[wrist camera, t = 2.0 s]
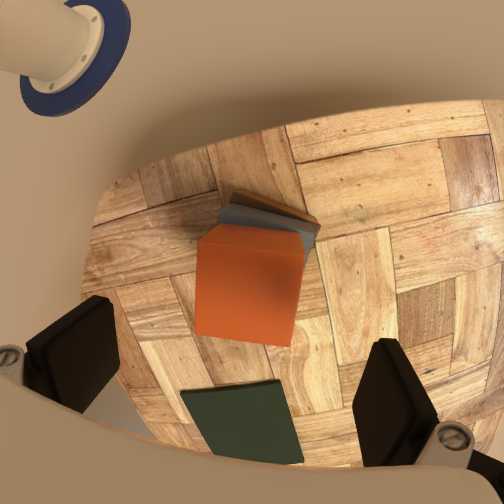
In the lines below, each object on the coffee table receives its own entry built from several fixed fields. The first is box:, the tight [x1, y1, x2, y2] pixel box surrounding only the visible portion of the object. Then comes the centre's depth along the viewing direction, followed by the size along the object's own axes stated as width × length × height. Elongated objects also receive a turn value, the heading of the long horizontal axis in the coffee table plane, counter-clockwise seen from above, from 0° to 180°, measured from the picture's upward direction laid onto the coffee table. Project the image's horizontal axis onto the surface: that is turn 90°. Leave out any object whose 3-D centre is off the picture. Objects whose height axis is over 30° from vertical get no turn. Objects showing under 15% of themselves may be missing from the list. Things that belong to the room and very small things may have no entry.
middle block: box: [217, 203, 315, 271], centre depth 21 cm, size 6×6×4 cm
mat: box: [180, 380, 304, 465], centre depth 33 cm, size 16×12×1 cm
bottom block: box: [229, 189, 321, 253], centre depth 25 cm, size 7×7×4 cm
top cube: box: [195, 223, 306, 347], centre depth 17 cm, size 5×5×5 cm
